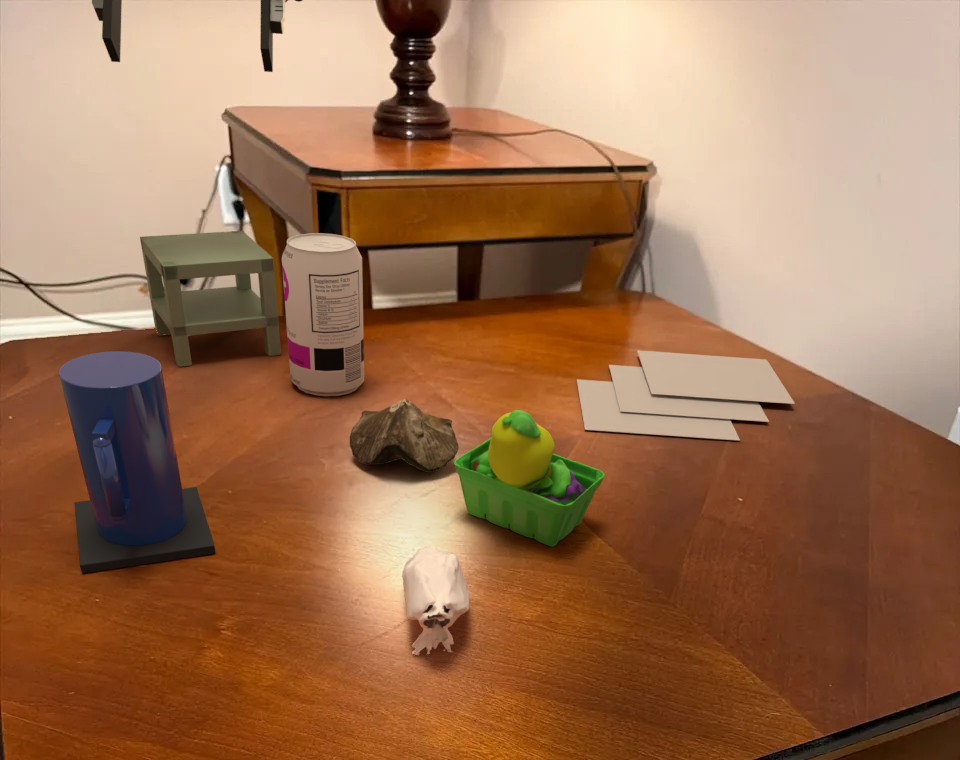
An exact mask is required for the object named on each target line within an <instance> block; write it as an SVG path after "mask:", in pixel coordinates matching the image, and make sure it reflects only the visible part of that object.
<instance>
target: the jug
mask: <svg viewBox="0 0 960 760" xmlns="http://www.w3.org/2000/svg"><path fill="white" fill-rule="evenodd" d="M58 376H59V380H60V384H61V389H62V392H63V396H64V400H65V405H66V408H67V413H68V416H69V421H70V424H71V428H72V434H73V438H74V441H75V444H76V449H77V453H78V458H79V461H80V465H81V469H82V473H83V477H84V482H85V485H86V490H87V495H88V497H89V500H90V502H91V506H92V510H93V514H94V518H95V523H96V527H97V531H98V533H99V534H100V535H101V536H102V537H103V538H104V539H106V540H108V541H110V542H112V543H116V544H121V545H130V546H137V545H148V544H153V543H157V542H161V541H164V540H166V539H169V538H171V537H173V536H175V535H176V534H178V533H179V532H180V531H181V530H182V529H183V528H184V527H185V525H186V523H187V515H186V509H185V503H184V497H183V491H182V489H183V486H182V480H181V474H180V470H179V469H180V468H179V461H178V457H177V449H176V444H175V437H174V433H173V427H172V421H171V420H172V419H171V414H170V409H169V403H168V397H167V391H166V384H165V379H164V373H163V368H162V364H161V362H160V361H159V360H158V359H157V358H155V357H153V356H150V355H148V354H145V353H140V352H134V351H123V350H122V351H121V350H120V351H115V350H113V351H111V350H110V351H100V352H95V353H89V354H84V355H80V356H78V357H75V358H72V359H71V360H69V361H67V362H65V363H64V364H63V365H61V367H60V368H59V370H58Z"/></svg>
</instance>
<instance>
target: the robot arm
mask: <svg viewBox="0 0 960 760" xmlns="http://www.w3.org/2000/svg"><path fill="white" fill-rule="evenodd" d="M288 1H289V0H260V38H259V39H260V44H259V45H260V47H259V48H260V54H261V60H262V66H263V71H264V72H267V73H273V72H274V69H273V68H274V63H273V62H274V61H273V60H274V35H273V34H278V35H279V34H280V35H283V34H284V32H285V29H286V27H285V26H286V24H285V23H286V16H285V15H286V14H285V13H286V3H287V2H288ZM294 1H295V2H303V0H294ZM122 2H123V0H91V4H92V6H93V9H94V12H95V14H96V17H97V19H98V21H99V22H102V28H101V29H102V30H101V32H102V33H101V39H102V41H103V45H104V47H105V49H106V51H107V54H108V57H109V59H110V62H113V63H121V47H122V46H121V44H122Z"/></svg>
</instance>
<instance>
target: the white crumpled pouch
mask: <svg viewBox="0 0 960 760" xmlns="http://www.w3.org/2000/svg"><path fill="white" fill-rule="evenodd" d="M461 565H462V564H461V563H460V560H459V557H458V554H455V553H449V552H448V551H445V550H442V549H440V548H438V547H434V546H431V545H425V546H423V547H421V548H420V549H418V550H416V552H415V553H414V554H413V555H412V557H410V558H409V559H407V561H406V562H405V564H404V567H403V570H402V573H401V578H402V586H403V587H402V588H403V593H404V600H405V605H406V619H407V620H410V621H414V620H416V621H418V624H419V625H420V627H421V628H422V632H421V633H420V634H419V635H418V636H417V638H416V639H415V640H414V642H413V643H412V644H411V648H414V650H412V652H411V653H412V655H413V654H414V653H416V655H418V656H420V652H421V651H422V650H423V649H425V648H426V649H425V650H426V652H427V653H426V654H430V655H431V650H436V649H437V647H438V646H439V644H440V643H441V644H442V645H443V647H444V649H443V652H446V651H447V653H453V654H454V651H453V650H452V649H451V645H454V644H455V641H454V639H453V635H452V634H451V632H450V630H449V628H450V627H452V626H453V625H454V624H455V622H456V620H458V619H459V618H460V617H461V616H462V615H463V614H465V613H466V612H468V611H469V609H470V606H471V605H470V590H469V586H468V583H467V579H466V576H465V574H464V571H463V569H462V566H461ZM432 648H433V649H432Z"/></svg>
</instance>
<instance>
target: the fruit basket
mask: <svg viewBox="0 0 960 760" xmlns="http://www.w3.org/2000/svg"><path fill="white" fill-rule="evenodd" d="M490 433H491V434H490V437H489V438H488V439H487V440H485V441H483V442H481V443H480V444H478V445H477V446H475V447H474V448H472V449H470V450H468V451H467V452H465V453H464V454H462V455H461V456H459V457H458V458H456V459H455V460H454V461H453V464H454V467H455V471H456V473H457V474H458V477H459V482H460V486H461V490H462V495H463V499H464V504H465V508H466V512H467V514H469V515H472V516H474V517H477V518H479V519H483V520H487V521H488V522H489V523H491V524H494V525H497V526H499V527H501V528H504V529H510V530H511V531H512V532H514V533H516V534H518V535H520V536H523V537H526V538H530V539H534V540H535V541H537V542H538V543H541V544H543V545H545V546H549V547H550V548H553V547H555V546H556V545H557V544H558V542H559V541H561V540H563V539H564V538H566V537H567V536H568V535H569V534H570V533H572V531H573V530H574V528H576V527H578V526H579V525H581V523H582V521H583V519H584V517H585V514H586V512H587V511H588V509H589V506H590V505H591V502H592V500H593V497H594V495H595V493H596V491H597V489H598V488H600V486H601V484H602V482H603V480H604V478H605V477H606V476H605V473H604V471H603V470H601V469H599V468H597V467H593V466H590V465H587V464H584V463H582V462H579V461H575V460H572V459H570V458H567V457H564V456H561V455H559V454H556V453H554V451H555V447H556V446H555V440H554V439H553V437H552V435H551V433H550V432H549V431H548V430H547V429H546V428H544V427H542V426H541V425H540V424H539V423H537V422H536V421H535V419H534V418H533V417H532V415H531V414H530V413H529V412H527V411H525V410H522V409H515V410H512V411H511V412H507V413H505V414H503V415H502V416H500V417H499V418H498V419H496V421H495V422H494V424H493V425H492V428H491V431H490Z"/></svg>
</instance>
